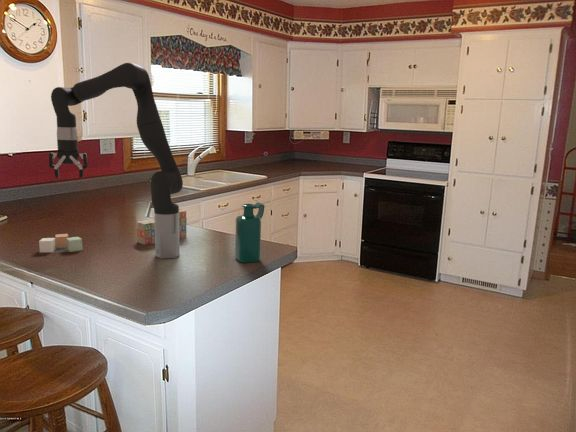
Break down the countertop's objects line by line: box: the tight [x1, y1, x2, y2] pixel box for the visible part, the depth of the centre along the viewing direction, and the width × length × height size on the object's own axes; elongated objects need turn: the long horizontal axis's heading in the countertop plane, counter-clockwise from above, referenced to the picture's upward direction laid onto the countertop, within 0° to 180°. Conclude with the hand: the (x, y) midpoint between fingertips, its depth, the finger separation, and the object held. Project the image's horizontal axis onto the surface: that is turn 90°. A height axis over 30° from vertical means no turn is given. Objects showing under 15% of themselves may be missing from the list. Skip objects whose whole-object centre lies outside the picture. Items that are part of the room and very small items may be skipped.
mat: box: [38, 243, 84, 254], centre depth 187 cm, size 11×15×1 cm
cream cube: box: [38, 237, 56, 252], centre depth 183 cm, size 4×4×4 cm
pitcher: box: [234, 202, 265, 264], centre depth 182 cm, size 10×8×22 cm
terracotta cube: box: [54, 233, 70, 248], centre depth 190 cm, size 4×4×4 cm
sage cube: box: [66, 236, 83, 253], centre depth 186 cm, size 4×4×4 cm
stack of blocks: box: [136, 208, 188, 246], centre depth 207 cm, size 21×6×12 cm, turn 139°
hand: (69, 178), depth 195 cm, fingers open, 8 cm apart
